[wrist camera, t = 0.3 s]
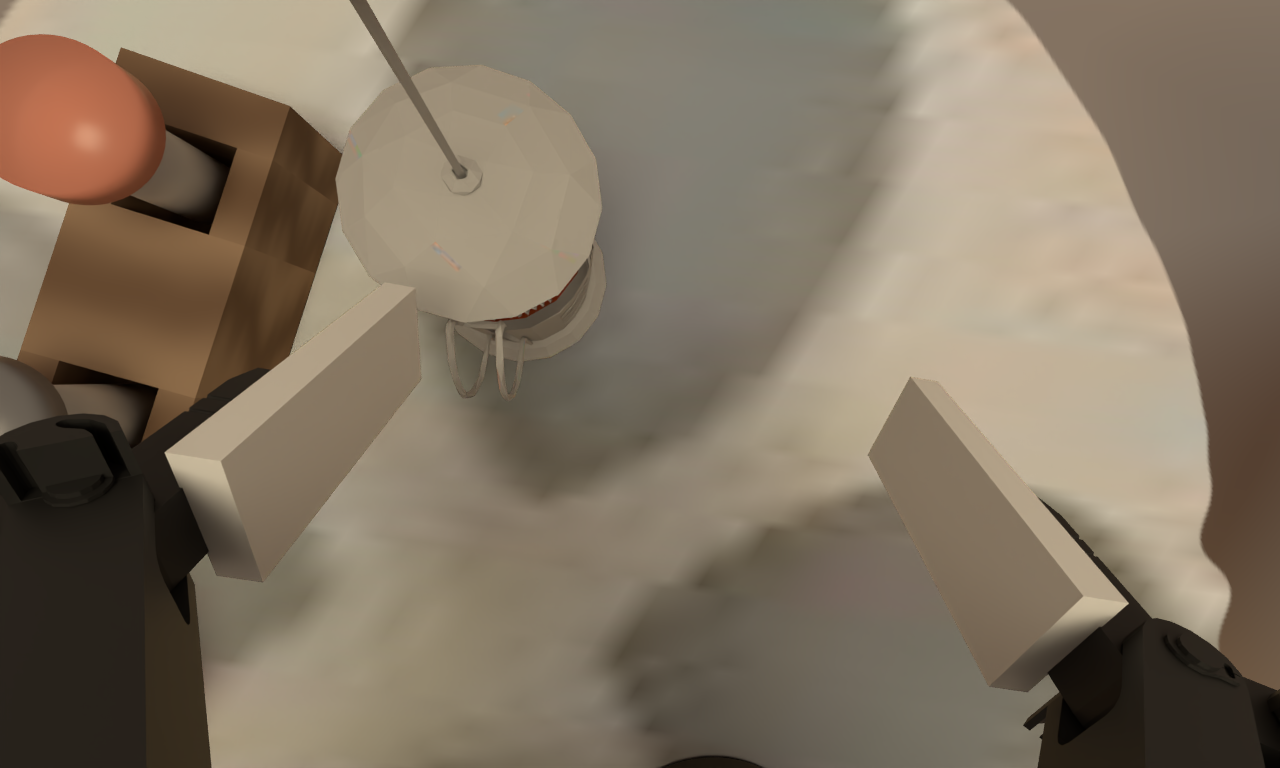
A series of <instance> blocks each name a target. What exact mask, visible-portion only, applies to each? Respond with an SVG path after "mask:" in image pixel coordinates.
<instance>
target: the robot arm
mask: <svg viewBox="0 0 1280 768" xmlns="http://www.w3.org/2000/svg"><path fill="white" fill-rule="evenodd" d="M420 380H421V366H420V350H419V335H418V319H417V303H416V288H414V287H408V286H403V285H397V284H392V283H386V282H384V283H383V284H382V285H381V286H379V287H378V288H377V289H375V290H374V291H373V292H372V293H370V294H369V295H368V296H366V297H365V298H364V299H362V300H361V301H360V302H359V303H357V304H356V305H355V306H353V307H352V308H351V309H350V310H348V311H347V312H346V313H344V314H343V315H342V316H340V317H339V318H338V319H337V320H335V321H334V322H333V323H331V324H330V325H329V326H328V327H326V328H325V329H324V330H322V331H321V332H320V333H318V334H317V335H316V336H315V337H313V338H312V339H311V340H309V341H308V342H307V343H306V344H304V345H303V346H302V347H300V348H299V349H298V350H296V351H295V352H294V353H293V354H291V355H290V356H289V357H287V358H286V359H285V360H284V361H282V362H281V363H280V364H278V365H277V366H276V367H274V368H273V369H272V370H270V369H264V368H256V369H253V370H251V371H248V372H246V373H243V374H241V375H238V376H236V377H233V378H230V379H228V380H227V381H226V382H224V383H223V384H221V385H220V386H219V387H217V388H216V389H214V390H213V391H212V392H210V393H209V394H208V395H207V398H202V399H201V400H199V401H198V402H196V403H195V404H194V405H192V406H191V407H189V411H188V412H187V411H184V412H182V413H181V414H180V415H178V416H177V417H176V418H174V419H173V420H171V421H170V422H169V423H167V424H166V425H164V426H163V427H162V428H160V429H159V430H157V431H156V432H155V433H153V434H152V435H150V436H149V437H148V438H146V439H145V440H144V441H142V442H141V443H139V444H138V445H137V446H135V447H134V448H132V449H131V447H130V445H129V443H128V441H127V439H126V436H125V434H124V432H123V430H122V428H121V426H120V424H119V422H118V421H117V420H115V419H112V418H110V417H108V416H105V415H97V414H86V413H82V414H71V415H61V416H55V417H51V418H47V419H43V420H39V421H35V422H31V423H28V424H26V425H23V426H21V427H18V428H16V429H13V430H11V431H8V432H6V433H4V434H3V435H1V436H0V768H211V758H210V747H209V736H208V725H207V714H206V703H205V693H204V682H203V671H202V660H201V649H200V638H199V627H198V617H197V606H196V595H195V584H194V582H193V580H192V578H191V576H190V573H189V572H190V571H191V570H192V569H193V568H194V567H195V566H196V564H197V563H198V562H199V561H200V560H201V559H202V558H203V557H204V556H205V555H206V554H208V556H209V559H210V561H211V563H212V566H213V568H214V570H215V573H216V575H217V576H223V577H230V578H237V579H244V580H251V581H258V582H264V580H265V579H266V578H267V577H268V575H269V574H270V573H271V571H272V570H273V569H274V568H275V566H276V565H277V564H278V562H279V561H280V560H281V559H282V557H283V556H284V555H285V553H286V552H287V551H288V550H289V548H290V547H291V546H292V544H293V543H294V542H295V541H296V539H297V538H298V537H299V535H300V534H301V533H302V532H303V530H304V529H305V528H306V526H307V525H308V524H309V523H310V521H311V520H312V519H313V517H314V516H315V515H316V514H317V512H318V511H319V510H320V508H321V507H322V506H323V505H324V503H325V502H326V501H327V500H328V498H329V497H330V496H331V494H332V493H333V492H334V491H335V489H336V488H337V487H338V485H339V484H340V483H341V482H342V480H343V479H344V478H345V476H346V475H347V474H348V473H349V471H350V470H351V469H352V467H353V466H354V465H355V464H356V462H357V461H358V460H359V458H360V457H361V456H362V455H363V453H364V452H365V451H366V449H367V448H368V447H369V446H370V444H371V443H372V442H373V440H374V439H375V438H376V437H377V435H378V434H379V433H380V431H381V430H382V429H383V428H384V426H385V425H386V424H387V422H388V421H389V420H390V419H391V417H392V416H393V415H394V413H395V412H396V411H397V410H398V408H399V407H400V406H401V404H402V403H403V402H404V401H405V399H406V398H407V397H408V395H409V394H410V393H411V392H412V390H413V389H414V388H415V386H416V385H417V384H418V383H419V381H420ZM868 456H869V458H870V460H871V462H872V464H873V465H874V467H875V469H876V471H877V473H878V475H879V477H880V479H881V481H882V483H883V485H884V487H885V488H886V490H887V492H888V494H889V496H890V498H891V500H892V502H893V504H894V506H895V508H896V510H897V511H898V513H899V515H900V517H901V519H902V521H903V523H904V525H905V527H906V529H907V531H908V533H909V535H910V536H911V538H912V540H913V542H914V544H915V546H916V548H917V550H918V552H919V554H920V556H921V558H922V559H923V561H924V563H925V565H926V567H927V569H928V571H929V573H930V575H931V577H932V579H933V581H934V582H935V584H936V586H937V588H938V590H939V592H940V594H941V596H942V598H943V600H944V602H945V604H946V605H947V607H948V609H949V611H950V613H951V615H952V617H953V619H954V621H955V623H956V625H957V627H958V628H959V630H960V632H961V634H962V636H963V638H964V640H965V642H966V644H967V646H968V648H969V650H970V651H971V653H972V655H973V657H974V659H975V661H976V663H977V665H978V667H979V669H980V671H981V673H982V674H983V676H984V678H985V680H986V682H987V684H988V686H989V687H995V688H1002V689H1009V690H1016V691H1023V692H1028V691H1029V690H1031V689H1032V688H1033V687H1034V686H1035V685H1036V684H1037V683H1039V682H1040V681H1041V680H1042V679H1043V678H1044V677H1045V676H1047V675H1048V674H1049V676H1050V677H1051V679H1052V681H1053V682H1054V684H1055V685H1056V687H1057V689H1058V690H1059V693H1058V694H1056V695H1055V696H1054V697H1053V698H1052V699H1050V700H1049V701H1048V702H1047V703H1046V704H1044V705H1043V706H1042V707H1041V708H1040V709H1038V710H1037V711H1036V712H1035V713H1034V714H1032V715H1031V716H1030V717H1029V718H1028V719H1027V720H1026V722H1025V724H1024V725H1023V726H1025V727H1026V728H1027V729H1029V730H1031V729H1032V728H1033V727H1035V726H1036V725H1037V724H1038V723H1045V725H1044V731H1043V734H1042V735H1041V736H1040V738H1041V739H1042V744H1041V750H1040V756H1039V762H1038V768H1280V689H1279V690H1278V691H1277V690H1274V689H1272V688H1269V687H1267V686H1264V685H1262V684H1259V683H1257V682H1254V681H1252V680H1249V679H1247V678H1245V677H1242V675H1241V674H1240V672H1239V671H1238V670H1237V669H1236V668H1235V667H1234V666H1233V664H1232V663H1231V662H1230V661H1229V660H1228V659H1227V658H1226V657H1225V656H1224V655H1223V654H1222V653H1220V652H1219V651H1218V650H1217V649H1216V648H1215V647H1213V646H1212V645H1211V644H1210V643H1208V642H1207V641H1205V640H1204V639H1202V638H1201V637H1199V636H1198V635H1196V634H1195V633H1193V632H1192V631H1190V630H1188V629H1186V628H1184V627H1182V626H1180V625H1177V624H1175V623H1173V622H1170V621H1166V620H1162V619H1158V618H1154V619H1152V618H1151V617H1150V616H1149V615H1148V613H1147V612H1146V611H1145V610H1144V609H1143V608H1142V607H1141V605H1140V604H1139V603H1138V602H1137V601H1136V600H1135V599H1134V598H1133V596H1132V595H1131V594H1130V593H1129V592H1128V591H1127V590H1126V588H1125V587H1124V586H1123V585H1122V584H1121V583H1120V582H1119V580H1118V579H1117V578H1116V577H1115V576H1114V575H1113V574H1112V573H1111V571H1110V570H1109V569H1108V568H1107V567H1106V566H1105V565H1104V563H1103V562H1102V561H1101V560H1100V559H1099V558H1098V557H1095V556H1094V555H1093V553H1094V552H1093V551H1092V550H1091V549H1090V548H1089V546H1088V545H1087V544H1086V543H1085V542H1084V541H1083V540H1080V539H1079V535H1078V534H1077V533H1076V532H1075V531H1074V529H1073V528H1072V527H1071V526H1070V525H1069V524H1068V523H1067V521H1066V520H1065V519H1064V518H1063V517H1062V516H1061V515H1060V514H1059V513H1057V512H1056V511H1055V510H1054V509H1052V508H1051V507H1050V506H1048V505H1047V504H1046V503H1045V502H1043V501H1042V500H1041V499H1040V498H1038V497H1037V496H1036V495H1035V494H1034V493H1033V492H1032V491H1031V489H1030V488H1029V487H1028V486H1027V485H1026V484H1025V482H1024V481H1023V480H1022V479H1021V478H1020V477H1019V475H1018V474H1017V473H1016V472H1015V471H1014V470H1013V468H1012V467H1011V466H1010V465H1009V464H1008V463H1007V462H1006V460H1005V459H1004V458H1003V457H1002V456H1001V455H1000V453H999V452H998V451H997V450H996V449H995V448H994V446H993V445H992V444H991V443H990V442H989V441H988V440H987V438H986V437H985V436H984V435H983V434H982V433H981V431H980V430H979V429H978V428H977V427H976V426H975V424H974V423H973V422H972V421H971V420H970V419H969V417H968V416H967V415H966V414H965V413H964V412H963V411H962V409H961V408H960V407H959V406H958V405H957V404H956V402H955V401H954V400H953V399H952V398H951V397H950V395H949V394H948V393H947V392H946V391H945V390H944V389H943V387H942V386H941V385H940V384H939V383H938V382H937V381H931V380H926V379H920V378H915V377H910V378H909V380H908V382H907V384H906V386H905V388H904V389H903V391H902V393H901V395H900V397H899V399H898V400H897V402H896V404H895V406H894V408H893V410H892V411H891V413H890V415H889V417H888V419H887V421H886V422H885V424H884V426H883V428H882V430H881V431H880V433H879V435H878V437H877V439H876V441H875V442H874V444H873V446H872V448H871V450H870V452H869V453H868ZM665 768H761V767H758V766H756V765H754V764H751V763H748V762H744V761H741V760H736V759H731V758H721V757H708V758H698V759H691V760H687V761H683V762H679V763H676V764H673V765H670V766H667V767H665Z"/></svg>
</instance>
